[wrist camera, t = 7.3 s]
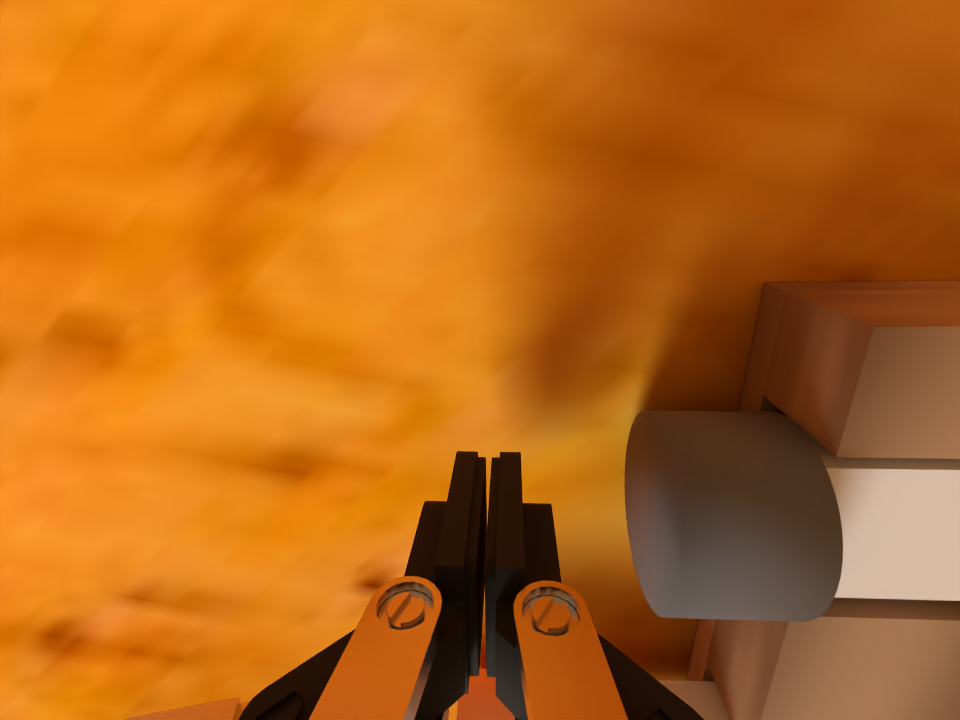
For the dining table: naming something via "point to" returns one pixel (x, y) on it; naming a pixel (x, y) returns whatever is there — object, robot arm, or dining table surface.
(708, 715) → the rust knob
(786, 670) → the brown wooden tray
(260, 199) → the dining table surface
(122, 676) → the dining table surface
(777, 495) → the white and grey bar
